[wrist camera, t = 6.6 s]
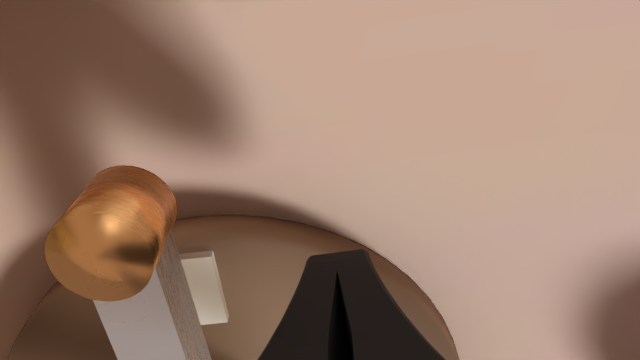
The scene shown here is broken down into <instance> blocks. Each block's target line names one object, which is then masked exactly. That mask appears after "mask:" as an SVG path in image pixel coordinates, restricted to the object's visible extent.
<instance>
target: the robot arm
mask: <svg viewBox="0 0 640 360" xmlns="http://www.w3.org/2000/svg"><path fill="white" fill-rule="evenodd" d="M257 360H446V359H445V358H444V357H443V356H442V355H441V354H440V353H439V352H438V351H437V350H436V349H435V348H434V347H433V346H432V345H431V344H430V343H429V342H428V341H427V340H426V339H425V338H424V336H423V335H422V334H421V333H420V332H419V331H418V330H417V328H416V327H415V326H414V325H413V324H412V322H411V321H410V320H409V319H408V317H407V316H406V315H405V314H404V312H403V311H402V310H401V308H400V307H399V306H398V304H397V303H396V301H395V300H394V298H393V297H392V296H391V294H390V293H389V291H388V290H387V288H386V287H385V285H384V284H383V282H382V280H381V278H380V277H379V275H378V273H377V271H376V269H375V268H374V265H373V263H372V261H371V259H370V256H369V252H367V251H366V250H364V249H358V250H351V251H343V252H335V253H328V254H320V255H312V256H310V257H309V258H308V259H307V261H306V265H305V268H304V271H303V274H302V276H301V279H300V281H299V284H298V286H297V288H296V291H295V293H294V295H293V297H292V299H291V301H290V303H289V305H288V307H287V309H286V312H285V314H284V316H283V317H282V319H281V321H280V323H279V325H278V326H277V328H276V330H275V332H274V333H273V335H272V337H271V339H270V340H269V342H268V344H267V345H266V347H265V349H264V350H263V352H262V353H261V355H260V356H259V358H258V359H257Z"/></svg>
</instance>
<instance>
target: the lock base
mask: <svg viewBox="0 0 640 360" xmlns="http://www.w3.org/2000/svg"><path fill="white" fill-rule="evenodd" d="M172 233H173V237H174V240H175V243H176V246H177V250H178V253H179V256H180V259H181V262H182V266H183V269H184V272H185V275H186V279H187V282H188V285H189V288H190V292H191V295H192V298H193V301H194V304H195V308H196V311H197V314H198V317H199V321H200V324H201V327H202V330H203V334H204V337H205V340H206V343H207V346H208V350H209V353H210V356H211V359H212V360H257V359H258V358H259V356H260V355H261V353H262V352H263V350H264V349H265V347H266V345H267V344H268V342H269V340H270V339H271V337H272V335H273V333H274V332H275V330H276V328H277V326H278V325H279V323H280V321H281V319H282V317H283V316H284V314H285V312H286V309H287V307H288V305H289V303H290V301H291V299H292V297H293V295H294V293H295V291H296V288H297V286H298V284H299V281H300V279H301V276H302V274H303V271H304V268H305V265H306V261H307V259H308V258H309V257H310V256H312V255H320V254H328V253H335V252H343V251H351V250H358V249H364V250H366V251H367V252H369V256H370V259H371V261H372V263H373V265H374V268H375V269H376V271H377V273H378V275H379V277H380V278H381V280H382V282H383V284H384V285H385V287H386V288H387V290H388V291H389V293H390V294H391V296H392V297H393V298H394V300H395V301H396V303H397V304H398V306H399V307H400V308H401V310H402V311H403V312H404V314H405V315H406V316H407V317H408V319H409V320H410V321H411V322H412V324H413V325H414V326H415V327H416V328H417V330H418V331H419V332H420V333H421V334H422V335H423V336H424V338H425V339H426V340H427V341H428V342H429V343H430V344H431V345H432V346H433V347H434V348H435V349H436V350H437V351H438V352H439V353H440V354H441V355H442V356H443V357H444V358H445V359H446V360H459V357H458V353H457V350H456V347H455V344H454V341H453V338H452V336H451V334H450V332H449V330H448V327H447V325H446V323H445V321H444V319H443V317H442V316H441V314H440V313H439V311H438V310H437V308H436V307H435V305H434V304H433V303H432V301H431V300H430V298H429V297H428V296H427V295H426V294H425V293H424V292H423V291H422V290H421V289H420V288H419V286H418V285H417V284H416V283H415V282H414V281H413V280H412V279H411V278H410V277H408V276H407V275H406V274H405V273H403V272H402V271H401V270H400V269H398V268H397V267H396V266H394V265H393V264H392V263H391V262H389V261H388V260H386V259H385V258H383V257H381V256H380V255H378V254H376V253H374V252H373V251H371V250H369V249H368V248H366V247H364V246H363V245H360V244H358V243H356V242H353V241H351V240H349V239H347V238H344V237H342V236H340V235H337V234H335V233H332V232H329V231H326V230H323V229H319V228H316V227H313V226H309V225H306V224H303V223H298V222H292V221H287V220H281V219H276V218H270V217H258V216H243V215H220V216H199V217H193V218H187V219H181V220H176V221H175V223H174V226H173V228H172ZM8 360H118V359H117V357H116V354H115V352H114V350H113V347H112V345H111V342H110V340H109V338H108V335H107V333H106V331H105V328H104V326H103V323H102V321H101V319H100V316H99V314H98V311H97V309H96V307H95V304H94V302H93V300H92V299H88V298H85V297H82V296H80V295H78V294H76V293H74V292H72V291H70V290H69V289H68V288H66V287H65V286H63V285H62V284H61V283H60V282H59V281H57V282H56V283H55V284H54V286H53V287H52V288H51V289H50V290H49V291H48V293H47V294H46V295H45V297H44V298H43V300H42V301H41V302H40V304H39V305H38V307H37V308H36V310H35V311H34V313H33V314H32V316H31V317H30V318H29V320H28V321H27V323H26V324H25V326H24V327H23V329H22V331H21V333H20V334H19V336H18V338H17V339H16V341H15V343H14V345H13V346H12V349H11V352H10V354H9V357H8Z"/></svg>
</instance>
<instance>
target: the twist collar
mask: <svg viewBox="0 0 640 360" xmlns="http://www.w3.org/2000/svg"><path fill="white" fill-rule="evenodd" d="M176 217H177V204H176V200H175V197H174V195H173V193H172V191H171V190H170V188H169V187H168V186H167V185H166V183H165V182H164V181H163V180H161V179H160V178H159V177H158V176H156V175H155V174H153V173H151V172H149V171H147V170H145V169H142V168H139V167H134V166H115V167H110V168H107V169H105V170H103V171H101V172H100V173H98V174H97V175H96V176H95V177H94V178H93V179H92V180H91V181H90V182H89V184H88V185H87V186H86V187H85V189H84V190H83V191H82V192H81V194H80V195H79V196H78V197H77V199H76V200H75V201H74V202H73V204H72V205H71V206H70V207H69V209H68V210H67V211H66V212H65V214H64V215H63V216H62V217H61V218H60V220H59V221H58V222H57V223H56V225H55V226H54V227H53V228H52V230H51V231H50V232H49V234H48V236H47V238H46V242H45V247H44V252H45V259H46V262H47V265H48V267H49V269H50V271H51V272H52V274H53V275H54V277H55V278H56V279H57V280H58V281H59V282H60V283H61V284H62V285H63V286H65V287H66V288H68V289H69V290H70V291H72V292H74V293H76V294H78V295H80V296H82V297H85V298H88V299H92V300H93V302H94V304H95V307H96V309H97V311H98V314H99V316H100V319H101V321H102V323H103V326H104V328H105V331H106V333H107V335H108V338H109V340H110V342H111V345H112V347H113V350H114V352H115V354H116V357H117V359H118V360H212V359H211V356H210V353H209V350H208V346H207V343H206V340H205V337H204V334H203V330H202V327H201V324H200V321H199V317H198V314H197V311H196V308H195V304H194V301H193V298H192V295H191V292H190V288H189V285H188V282H187V279H186V275H185V272H184V269H183V266H182V262H181V259H180V256H179V253H178V250H177V246H176V243H175V240H174V237H173V233H172V228H173V226H174V223H175V221H176Z"/></svg>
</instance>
